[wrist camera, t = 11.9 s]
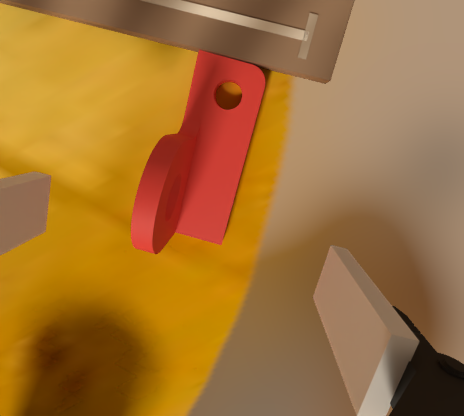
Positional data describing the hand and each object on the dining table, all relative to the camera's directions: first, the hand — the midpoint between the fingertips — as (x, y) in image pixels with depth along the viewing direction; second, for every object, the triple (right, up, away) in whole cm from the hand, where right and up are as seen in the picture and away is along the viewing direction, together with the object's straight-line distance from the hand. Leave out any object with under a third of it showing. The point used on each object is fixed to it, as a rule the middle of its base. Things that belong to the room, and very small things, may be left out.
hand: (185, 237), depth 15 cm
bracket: (+1, +5, +8) cm, 10 cm away
